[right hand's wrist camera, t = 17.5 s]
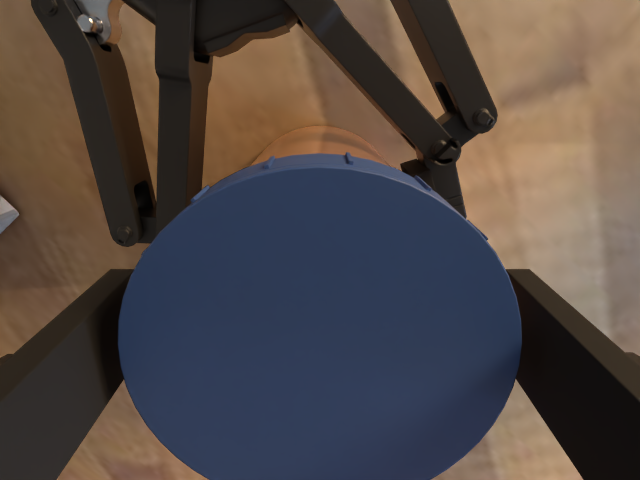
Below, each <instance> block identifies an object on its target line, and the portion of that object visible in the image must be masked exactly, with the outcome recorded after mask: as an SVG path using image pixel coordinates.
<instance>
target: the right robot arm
mask: <svg viewBox="0 0 640 480" xmlns="http://www.w3.org/2000/svg"><path fill="white" fill-rule="evenodd" d="M505 270H506V272H507V273H508V276H509V278H510V281H511V284H512V286H513V289H514V292H515V294H516V297H517V302H518V307H519V312H520V318H521V334H522V346H521V354H520V363H519V368H518V371H517V375H516V380H517V381H518V383H519V384H520V386H521V387H522V389H523V390H524V392H525V393H526V395H527V396H528V398H529V399H530V400H531V402H532V403H533V405H534V406H535V408H536V409H537V411H538V412H539V414H540V415H541V417H542V418H543V420H544V421H545V423H546V424H547V426H548V427H549V429H550V430H551V432H552V433H553V435H554V436H555V438H556V439H557V441H558V442H559V444H560V445H561V447H562V448H563V450H564V451H565V453H566V454H567V456H568V457H569V459H570V460H571V462H572V463H573V465H574V466H575V468H576V469H577V470H578V472H579V473H580V475H581V476H582V478H583V479H584V480H640V356H638V355H636V354H634V353H625V352H624V351H623V350H621V349H620V348H619V347H618V346H617V345H616V344H614V343H613V342H612V341H611V340H610V339H609V338H608V337H606V336H605V335H604V334H603V333H602V332H601V331H600V330H598V329H597V328H596V327H595V326H594V325H593V324H592V323H590V322H589V321H588V320H587V319H586V318H585V317H583V316H582V315H581V314H580V313H579V312H578V311H577V310H575V309H574V308H573V307H572V306H571V305H570V304H569V303H567V302H566V301H565V300H564V299H563V298H562V297H561V296H559V295H558V294H557V293H556V292H555V291H554V290H552V289H551V288H550V287H549V286H548V285H547V284H546V283H544V282H543V281H542V280H541V279H540V278H539V277H538V276H536V275H535V274H534V273H533V272H532V271H531V270H530V269H505ZM133 271H134V269H110V270H109V271H108V272H107V273H106V274H105V275H104V276H102V277H101V278H100V279H99V280H98V281H97V282H96V283H94V284H93V285H92V286H91V287H90V288H89V289H88V290H86V291H85V292H84V293H83V294H82V295H81V296H79V297H78V298H77V299H76V300H75V301H74V302H73V303H71V304H70V305H69V306H68V307H67V308H66V309H65V310H63V311H62V312H61V313H60V314H59V315H58V316H57V317H55V318H54V319H53V320H52V321H51V322H50V323H48V324H47V325H46V326H45V327H44V328H43V329H42V330H40V331H39V332H38V333H37V334H36V335H35V336H34V337H32V338H31V339H30V340H29V341H28V342H27V343H26V344H24V345H23V346H22V347H21V348H20V349H19V350H17V351H16V352H15V353H14V354H7V355H5V356H3V357H1V358H0V480H56V479H57V478H58V476H59V475H60V473H61V472H62V470H63V469H64V468H65V466H66V465H67V463H68V462H69V460H70V459H71V457H72V456H73V454H74V453H75V451H76V450H77V448H78V447H79V445H80V444H81V442H82V441H83V439H84V438H85V436H86V435H87V433H88V432H89V430H90V429H91V427H92V426H93V424H94V423H95V421H96V420H97V418H98V417H99V415H100V414H101V412H102V411H103V409H104V408H105V406H106V405H107V403H108V402H109V400H110V399H111V398H112V396H113V395H114V393H115V392H116V390H117V389H118V387H119V386H120V384H121V383H122V381H123V380H124V377H123V373H122V370H121V366H120V358H119V350H118V320H119V315H120V310H121V305H122V300H123V296H124V293H125V290H126V288H127V285H128V282H129V279H130V277H131V274H132V273H133Z"/></svg>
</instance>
